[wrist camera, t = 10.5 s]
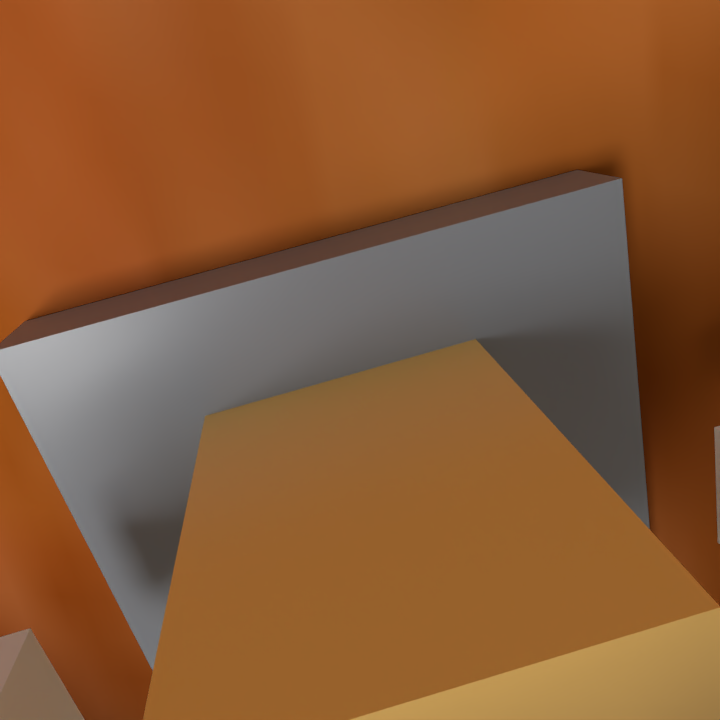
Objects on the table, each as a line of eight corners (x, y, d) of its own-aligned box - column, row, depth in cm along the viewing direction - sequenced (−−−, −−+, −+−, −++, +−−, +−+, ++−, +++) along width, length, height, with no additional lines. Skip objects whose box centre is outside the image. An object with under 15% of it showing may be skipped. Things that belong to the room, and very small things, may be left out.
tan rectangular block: (285, 623, 16) (301, 1075, 8) (205, 416, 13) (129, 786, 6) (516, 554, 16) (730, 936, 9) (475, 339, 14) (720, 606, 6)
